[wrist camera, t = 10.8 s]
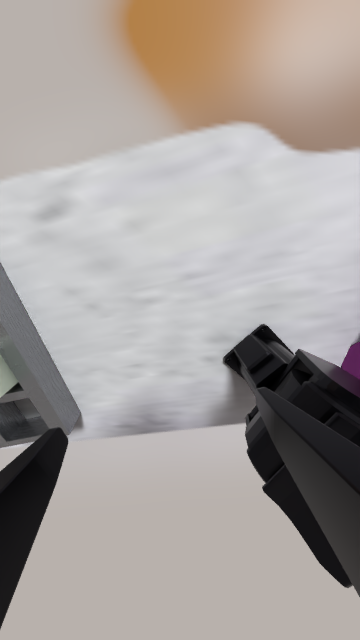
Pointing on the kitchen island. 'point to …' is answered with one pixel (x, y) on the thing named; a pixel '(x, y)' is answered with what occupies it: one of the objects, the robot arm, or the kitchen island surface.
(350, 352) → the mounting bracket
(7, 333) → the slotted holder
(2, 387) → the peg
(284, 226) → the kitchen island surface
